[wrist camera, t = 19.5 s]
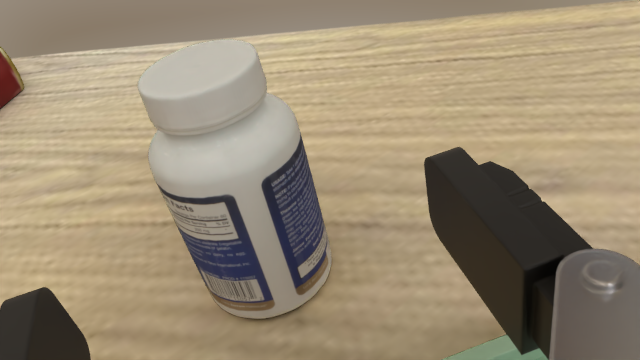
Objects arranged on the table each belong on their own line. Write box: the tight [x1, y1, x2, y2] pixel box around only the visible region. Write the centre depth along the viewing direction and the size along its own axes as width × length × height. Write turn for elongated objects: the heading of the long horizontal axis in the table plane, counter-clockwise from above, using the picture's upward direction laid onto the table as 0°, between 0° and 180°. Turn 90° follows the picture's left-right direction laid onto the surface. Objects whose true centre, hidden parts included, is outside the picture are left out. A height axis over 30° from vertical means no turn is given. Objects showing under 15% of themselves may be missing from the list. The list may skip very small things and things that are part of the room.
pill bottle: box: [138, 39, 332, 319], centre depth 21 cm, size 5×5×10 cm
